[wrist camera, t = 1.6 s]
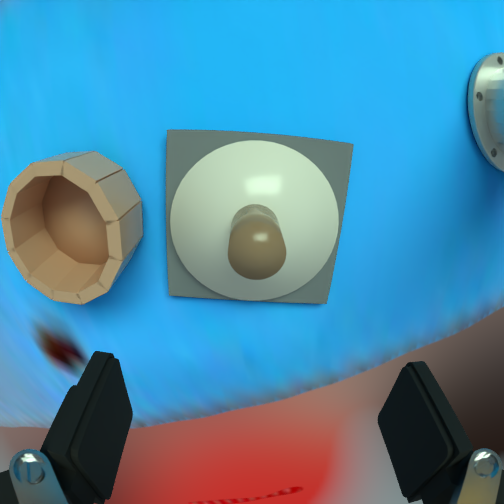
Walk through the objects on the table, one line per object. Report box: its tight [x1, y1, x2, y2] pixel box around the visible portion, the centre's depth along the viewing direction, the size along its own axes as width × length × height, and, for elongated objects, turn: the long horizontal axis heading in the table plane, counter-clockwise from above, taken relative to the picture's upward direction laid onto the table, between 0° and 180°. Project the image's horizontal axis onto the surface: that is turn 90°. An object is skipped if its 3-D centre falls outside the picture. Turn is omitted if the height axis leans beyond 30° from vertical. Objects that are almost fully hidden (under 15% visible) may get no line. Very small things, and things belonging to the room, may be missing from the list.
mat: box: [166, 130, 353, 304], centre depth 25 cm, size 14×14×1 cm
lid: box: [170, 140, 339, 301], centre depth 22 cm, size 13×13×6 cm
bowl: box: [1, 151, 143, 305], centre depth 23 cm, size 11×11×6 cm
